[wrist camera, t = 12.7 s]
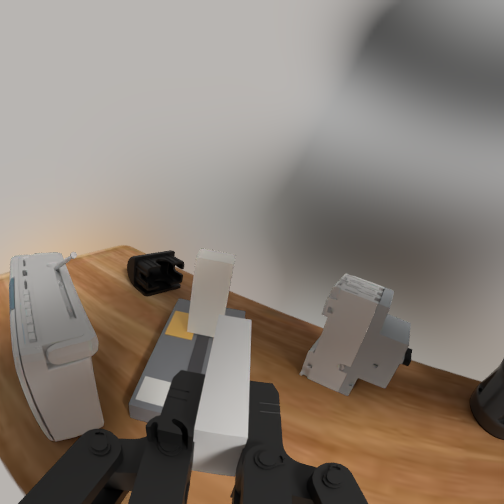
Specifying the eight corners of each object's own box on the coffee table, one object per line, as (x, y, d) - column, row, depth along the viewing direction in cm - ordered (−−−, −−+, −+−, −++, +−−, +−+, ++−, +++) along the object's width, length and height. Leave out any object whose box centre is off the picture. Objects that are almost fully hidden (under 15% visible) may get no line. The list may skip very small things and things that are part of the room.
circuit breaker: (383, 410, 34) (432, 324, 30) (299, 374, 40) (331, 285, 36) (390, 383, 40) (430, 304, 36) (316, 352, 47) (344, 272, 42)
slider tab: (222, 324, 45) (235, 254, 42) (220, 338, 41) (234, 264, 38) (191, 318, 45) (201, 248, 41) (186, 331, 41) (196, 257, 38)
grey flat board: (242, 322, 52) (245, 310, 51) (235, 440, 27) (239, 427, 26) (177, 310, 51) (178, 297, 50) (130, 417, 26) (128, 403, 26)
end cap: (163, 274, 64) (166, 246, 62) (183, 287, 60) (186, 257, 58) (126, 282, 56) (127, 252, 54) (143, 297, 53) (145, 265, 51)
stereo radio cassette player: (21, 336, 32) (5, 202, 26) (68, 328, 37) (62, 199, 31) (50, 450, 18) (-13, 270, 12) (116, 433, 24) (97, 259, 18)
